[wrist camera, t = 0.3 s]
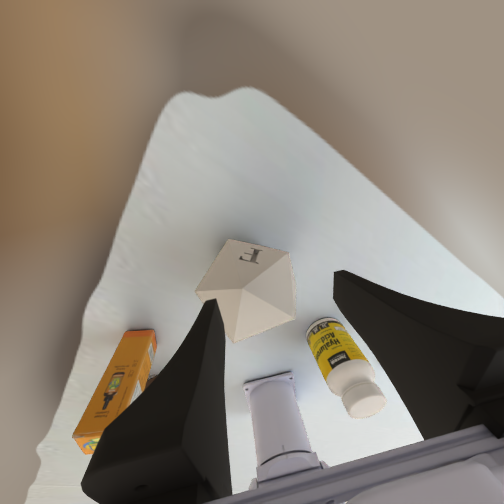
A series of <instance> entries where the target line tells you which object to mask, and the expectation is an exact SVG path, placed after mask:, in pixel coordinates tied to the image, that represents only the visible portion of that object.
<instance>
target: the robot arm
mask: <svg viewBox="0 0 504 504" xmlns="http://www.w3.org/2000/svg"><path fill="white" fill-rule="evenodd" d="M333 299H334V301H335V303H336V304H337V306H338V308H339V309H340V311H341V312H342V314H343V315H344V316H345V318H346V319H347V320H348V322H349V323H350V324H351V325H352V327H353V328H354V329H355V330H356V332H357V333H358V334H359V335H360V337H361V338H362V339H363V340H364V342H365V343H366V344H367V345H368V347H369V348H370V350H371V351H372V352H373V354H374V355H375V357H376V358H377V360H378V361H379V363H380V365H381V366H382V368H383V369H384V371H385V372H386V374H387V376H388V377H389V379H390V380H391V382H392V384H393V385H394V387H395V389H396V390H397V392H398V394H399V395H400V397H401V399H402V401H403V402H404V404H405V406H406V407H407V409H408V411H409V413H410V415H411V416H412V418H413V420H414V422H415V424H416V426H417V427H418V429H419V431H420V433H421V435H422V437H423V438H424V441H421V442H417V443H414V444H410V445H407V446H403V447H400V448H396V449H392V450H389V451H385V452H382V453H378V454H375V455H371V456H368V457H364V458H361V459H357V460H354V461H350V462H347V463H343V464H340V465H336V466H333V467H329V466H328V465H327V464H326V463H325V462H324V461H319V460H318V457H317V454H316V452H313V451H312V448H311V445H310V442H309V439H308V436H307V432H306V429H305V426H304V423H303V420H302V417H301V413H300V410H299V407H298V404H297V401H296V392H295V382H294V375H293V373H292V372H289V373H285V374H281V375H277V376H273V377H269V378H265V379H261V380H257V381H253V382H249V383H245V384H244V385H243V389H244V392H245V396H246V399H247V402H248V406H249V409H250V412H251V417H252V425H253V433H254V441H255V449H256V458H257V466H258V467H257V468H256V470H257V478H258V482H257V478H253V479H252V482H251V484H250V486H249V490H248V491H245V492H241V493H238V494H234V495H232V485H231V474H230V463H229V451H228V438H227V425H226V410H225V393H224V370H225V329H224V322H223V319H222V316H221V312H220V309H219V306H218V302H217V299H216V298H215V299H210V300H206V301H205V302H204V305H203V307H202V309H201V311H200V313H199V315H198V317H197V319H196V321H195V322H194V324H193V326H192V328H191V330H190V331H189V333H188V335H187V336H186V338H185V339H184V341H183V343H182V344H181V346H180V347H179V349H178V350H177V351H176V353H175V354H174V356H173V357H172V358H171V360H170V361H169V362H168V364H167V365H166V366H165V367H164V369H163V370H162V371H161V372H160V373H159V374H158V376H157V377H156V378H155V379H154V380H153V381H152V383H151V384H150V385H149V386H148V387H147V388H146V389H145V390H144V391H143V392H142V393H141V394H140V395H139V396H138V397H137V398H136V399H135V400H134V401H133V402H132V403H131V404H130V405H129V406H128V407H127V408H126V409H125V410H124V411H123V412H122V413H121V414H120V415H119V416H118V417H117V418H115V419H114V420H113V421H112V422H111V423H110V424H109V425H108V426H107V427H106V428H105V429H104V431H103V433H102V435H101V437H100V439H99V441H98V443H97V446H96V448H95V450H94V453H93V455H92V458H91V460H90V463H89V465H88V467H87V470H86V472H85V474H84V477H83V479H82V482H81V487H82V490H83V492H84V493H85V494H86V495H87V496H88V497H90V498H91V499H93V500H94V501H96V502H97V503H99V504H345V502H346V501H348V502H347V503H346V504H504V318H501V317H495V316H488V315H483V314H477V313H472V312H467V311H462V310H458V309H453V308H449V307H445V306H441V305H437V304H433V303H430V302H426V301H423V300H420V299H416V298H413V297H410V296H407V295H404V294H401V293H398V292H396V291H393V290H390V289H388V288H385V287H383V286H380V285H378V284H376V283H373V282H371V281H369V280H366V279H364V278H362V277H360V276H357V275H355V274H353V273H350V272H348V271H345V270H341V271H336V272H334V287H333Z"/></svg>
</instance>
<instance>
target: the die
mask: <svg viewBox="0 0 504 504" xmlns="http://www.w3.org/2000/svg"><path fill="white" fill-rule="evenodd" d="M195 293H196V294H197V295H198V297H199V298H200V299H201V301H202V302H203V303H204V302H205V301H206V300H210V299H215V298H216V299H217V302H218V306H219V309H220V312H221V316H222V319H223V322H224V329H225V333H226V334H227V336H228V337H229V338H230V340H231V341H232V342H233V344H234V343H236V342H239V341H241V340H244V339H247V338H249V337H252V336H254V335H257V334H259V333H262V332H264V331H267V330H269V329H272V328H274V327H277V326H279V325H282V324H284V323H286V322H289V321H291V320H294V319H295V316H296V281H295V277H294V273H293V268H292V264H291V260H290V256H289V252H285V251H281V250H277V249H273V248H269V247H265V246H261V245H256V244H251V243H246V242H241V241H236V240H232V239H228V240H227V242H226V243H225V245H224V246H223V248H222V249H221V251H220V253H219V254H218V256H217V257H216V259H215V260H214V262H213V263H212V265H211V267H210V268H209V270H208V271H207V273H206V274H205V276H204V277H203V279H202V281H201V282H200V284H199V285H198V287H197V288H196V290H195Z"/></svg>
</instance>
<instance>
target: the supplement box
mask: <svg viewBox="0 0 504 504" xmlns="http://www.w3.org/2000/svg"><path fill="white" fill-rule="evenodd" d="M156 348H157V345H156V339H155V332H154V330H141V331H126V332H125V333H124V335H123V337H122V339H121V341H120V343H119V345H118V347H117V349H116V351H115V353H114V355H113V357H112V359H111V361H110V363H109V365H108V367H107V369H106V371H105V373H104V375H103V377H102V379H101V381H100V382H99V384H98V386H97V388H96V390H95V392H94V394H93V396H92V398H91V400H90V402H89V404H88V406H87V408H86V410H85V412H84V414H83V416H82V418H81V420H80V422H79V424H78V426H77V427H76V429H75V431H74V433H73V435H72V438H74V440H75V441H76V442H77V444H78V445H79V447H80V448H81V450H82V451H83V452H84V453H85V454H86V455H87V454H93V453H94V450H95V448H96V446H97V443H98V441H99V439H100V437H101V435H102V433H103V431H104V429H105V428H106V427H107V426H108V425H109V424H110V423H111V422H112V421H113V420H114V419H115V418H117V417H118V416H119V415H120V414H121V413H122V412H123V411H124V410H125V409H126V408H127V407H128V406H129V405H130V404H131V403H132V402H133V401H134V400H135V399H136V398H137V397H138V396H139V395H140V394H141V393H142V392H143V391H144V389H145V385H146V382H147V379H148V376H149V372H150V369H151V365H152V362H153V358H154V355H155V352H156Z"/></svg>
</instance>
